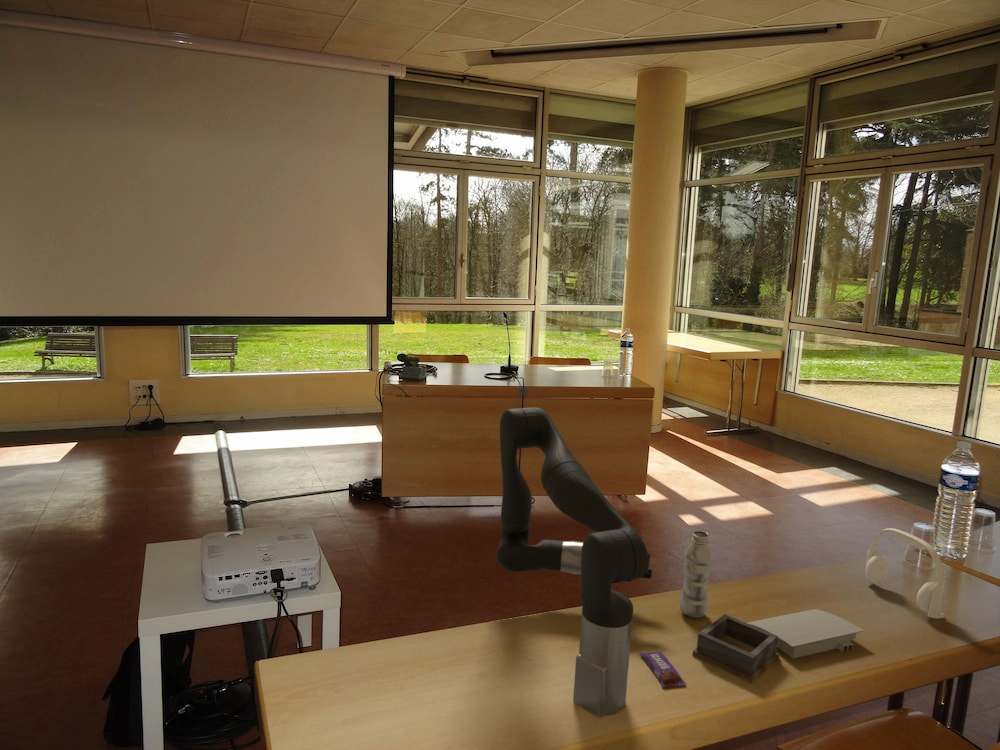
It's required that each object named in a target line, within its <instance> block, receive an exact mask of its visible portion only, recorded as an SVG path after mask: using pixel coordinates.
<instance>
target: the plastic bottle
mask: <svg viewBox="0 0 1000 750" xmlns="http://www.w3.org/2000/svg"><path fill="white" fill-rule="evenodd" d="M709 537H710V536H709V533H708V532H706V531H702V530H694V531H693V532H692V536H691V542H692V543H690V545H689V546H687V547H686V550H685V552H684V581H683V588H682V591H681V594H680V598H679V609H680V611H681V613H682V614H684V615H685V616H687V617H689V618H693V619H700V618H703V617H705V615H706V614H707V612H708V609H709V600H708V584H709V577H710V572H711V568H712V564H713V560H714V558H713V557H714V556H713V553H712V550H711V549H710V547H709V543H710V541H709V539H710V538H709Z"/></svg>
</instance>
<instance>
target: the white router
mask: <svg viewBox="0 0 1000 750" xmlns="http://www.w3.org/2000/svg"><path fill="white" fill-rule="evenodd" d="M746 623H747V624H750V625H752V626H755V627H757V628H760V629H762V630H764V631H767V632H769V633H772V634H774V635H776V636H778V639H777V647H776V648H778V649H779V650H780V651H782V652H784V653H785V654H786V655H788V656H789V657H790V658H791V659H797V658H801V657H805V656H810V655H815V654H818V653H823V652H828V651H831V650H835V649H837V650H839V651H840V652H844V650H845V647H847V649H846V651H847V652H848V651H849V647H850V646H852V648H851V650H854V645H855V644H854V643H853V642H852V640H856V636H857V634H858V633H862V632H865V630H864V629H862V628H861V627H859V626H858V625H856V624H854V623H852V622H850V621H848V620H846V619H844V618H842V617H840V616H838V615H836V614H833V613H831V612H827V611H824V610H819V609H815V608H814V609H809V610H804V611H800V612H794V613H788V614H784V615H778V616H774V617H768V618H764V619H760V620H754V621H749V622H746Z"/></svg>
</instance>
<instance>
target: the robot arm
mask: <svg viewBox="0 0 1000 750" xmlns="http://www.w3.org/2000/svg"><path fill="white" fill-rule="evenodd" d="M499 448H500V463H501V465H500V466H501V477H502V499H501V509H500V524H501V535H500V541H499V544H498V547H497V550H496V555H495V556H496V557H495V558H496V562H497V563H498V565H499V566H500V567H501V568H502V569H503V570H506V571H508V572H514V573H521V572H532V571H540V570H548V571H555V572H556V571H557V572H564V573H568V574H573V575H580V597H581V598H580V599H581V605H582V607H581V620H580V636H579V649H578V654H577V655H576V657H575V671H574V685H573V695H572V696H573V697H572V698H573V700H572V702H573V703H574V704H577V705H578V706H580V707H581V708H583V709H584V710H587V711H588V712H590V713H592V714H593V715H595V716H596V717H599V718H601V717H602V716H604V715H605V716H606V715H613V714H616V713H619V712H620V711H621V710H623V709H624V707H625V706H626V700H627V688H628V675H629V665H630V652H631V651H630V650H631V641H632V630H633V629H632V627H633V618H634V617H633V616H634V604H633V602H632V600H631V599H630V598H629V597H628V596H627V595H625V594H623V593H622V592H619V591H617V590H613V589H612V585H613V584H617V583H623V582H628V583H631V582H632V581H634V580H637V579H649V580H650V579H652V575H653V574H652V573H653V571H652V570H653V569H652V568H649V567H650V562H651V561H650V560H651V553H649V552H648V548H647V547H646V546H647V545H645V542H644V540H643V539H642V537H641V535H640V534H639V532H637V531H636V529H635V528H634V527H633V526H632V525H631V524H630V523H629V521H627V519H625V518H624V516H622V514H620V513H619V512H618V510H617V509H616V508H615V507H614V506H613V505H612V504H611V502H610V501H608V499H607V497H606V496H605V495H604V494H603V492H602V491H601V490H600V489H599V488H598V486H597V484H596V483H595V482H594V480H593V479H592V477H591V476H590V475H589V473H588V472H587V470H586V469H585V468H584V467H583V465H582V464H581V463H580V462H579V460H577V458H576V457H575V455H574V454H573V453H572V451H571V450H570V448H569V447H568V445H567V444H566V442H565V441H564V439H563V438H562V435H561V434H560V432H559V430H558V429H557V427H556V425H555V423H554V421H553V419H552V418H551V416H550V415H549V413H548V412H547V411H546V410H544V409H543V408H541V407H535V406H534V407H533V406H532V407H531V406H530V407H518V408H507V409H506V410H505V411H503V412H502V414H501V418H500V422H499ZM531 448H533V449H534V448H538V449H539V450H541V451H542V453H543V454H544V461H543V464H542V467H541V473H540V480H541V485H542V488H543V489H544V491H545V494H547V496H548V497H549V499H550V500H551V502H552V503H553V505H554V506H555V507H556V509H558V510H559V511H560V512H562V514H565V515H566V516H567V517H568V518H570V519H572V520H575V521H577V522H578V523H580V524H582V525H583V526H586V527H587V528H589V529H591V530H592V531H593V532H591V533H589V534H587V535H586V537H585V538H584V540H583V541H577V540H557V539H556V540H555V539H541V540H540V541H538V543H537V544H532V545H531V544H530V545H529V543H530V523H531V515H532V514H531V513H532V504H533V503H532V502H533V497H532V496H533V495H532V492H531V489H530V486H529V485H528V484H529V483H528V482H527V480H526V479H525V477H524V475H523V473H522V472H521V469H520V467H519V463H518V457H517V456H518V450H521V449H531Z"/></svg>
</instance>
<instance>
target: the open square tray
mask: <svg viewBox="0 0 1000 750" xmlns="http://www.w3.org/2000/svg"><path fill="white" fill-rule="evenodd" d="M747 623H748V622H745V621H743V620H740V619H738V618H735V617H733V616H731V615H728V614H726V613H725V614H723V615H721V616H720V617H719V618H718V619H716V620H714V621H713V622H712V623H711V624H709V625H708V626H707V627H705V628H704V629H703V630H701V631H699V633H698V634H697V644H696V648H694V649H693V650H692V656H694V657H695V658H698V659H699V660H702V661H704V662H706V663H708V664H710V665H713V666H715V667H716V668H717V669H718V668H719V669H720V670H723V671H724V672H727V673H729V674H731V675H732V676H733V675H734V676H735V677H738V678H740V679H742V680H744V681H746V682H748V683H750V684H753V683H754V682H755V681H756V680H757V679H758V678H759V677H760V676H761V675H762V674H764V673H765V671H767V670H768V668H770V667H771V666H772V665H773V664H774V663H775V662H776V661H777V660H778V659H779V657H780V653H779V652H777V648H778V647H777V639H778V636H776V635H774V634H772V633H769V632H767V631H764V630H762V629H760V628H757V627H755V626H752V625H750V624H747Z"/></svg>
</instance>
